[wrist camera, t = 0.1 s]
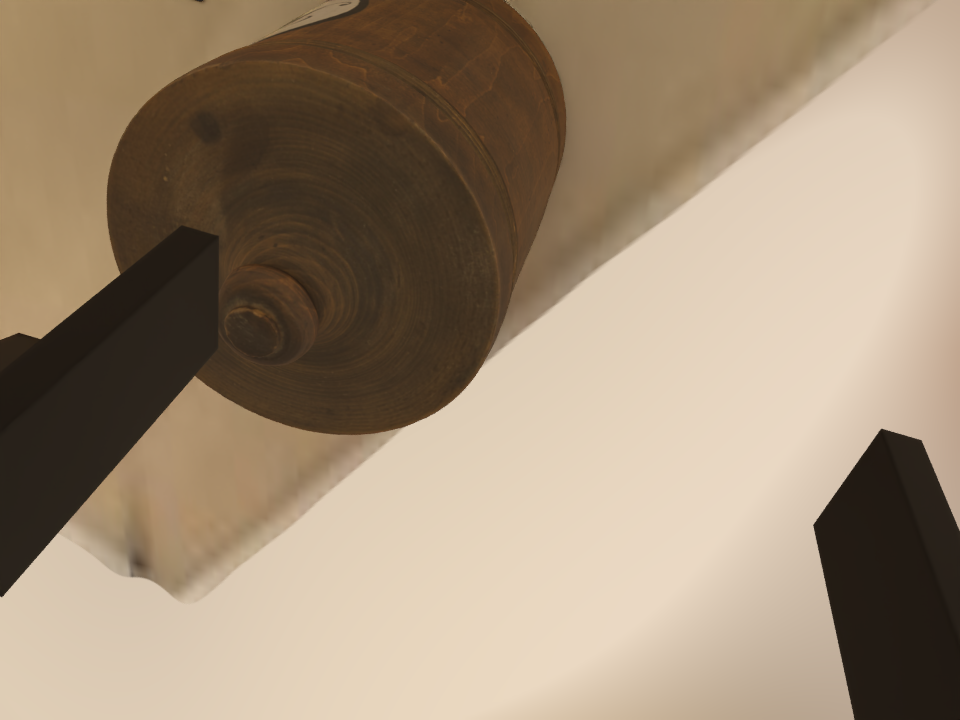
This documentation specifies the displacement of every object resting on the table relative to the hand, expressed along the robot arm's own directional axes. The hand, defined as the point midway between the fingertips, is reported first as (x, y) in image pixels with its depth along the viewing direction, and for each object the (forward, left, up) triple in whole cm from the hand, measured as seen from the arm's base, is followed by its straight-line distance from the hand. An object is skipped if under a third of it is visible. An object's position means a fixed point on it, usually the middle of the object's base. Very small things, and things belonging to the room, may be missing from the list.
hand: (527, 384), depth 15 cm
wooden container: (+6, -8, -28) cm, 30 cm away
